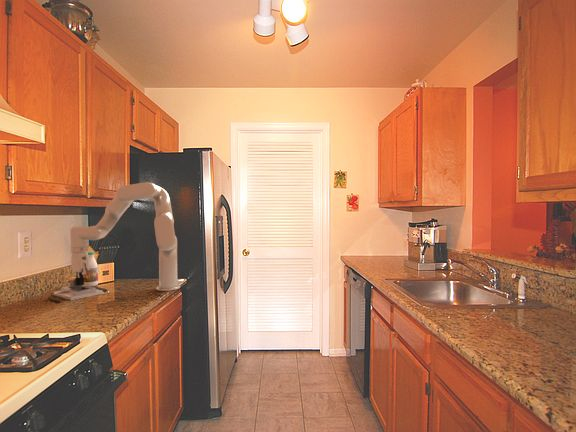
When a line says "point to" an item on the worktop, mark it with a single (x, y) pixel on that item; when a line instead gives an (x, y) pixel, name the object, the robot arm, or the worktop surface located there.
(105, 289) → the cord
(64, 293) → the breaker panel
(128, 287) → the worktop surface
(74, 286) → the block
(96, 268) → the milk bottle
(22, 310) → the worktop surface
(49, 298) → the cord
